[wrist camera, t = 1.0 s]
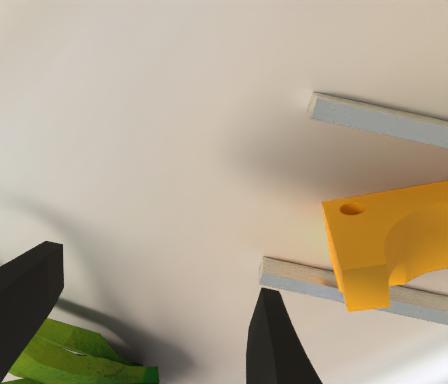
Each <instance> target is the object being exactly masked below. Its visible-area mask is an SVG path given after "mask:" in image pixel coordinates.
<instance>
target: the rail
mask: <svg viewBox="0 0 448 384" xmlns="http://www.w3.org/2000/svg"><path fill="white" fill-rule="evenodd" d="M308 113H309V115H310V118H311V119H315V120H319V121H324V122H328V123H333V124H338V125H342V126H347V127H351V128H356V129H361V130H365V131H370V132H374V133H379V134H384V135H388V136H393V137H397V138H402V139H407V140H411V141H416V142H421V143H425V144H430V145H434V146H439V147H444V148H448V121H445V120H441V119H436V118H432V117H427V116H422V115H418V114H413V113H409V112H404V111H399V110H395V109H390V108H385V107H381V106H376V105H372V104H367V103H362V102H358V101H353V100H349V99H344V98H339V97H335V96H330V95H326V94H321V93H316V92H313V94H312V97H311V100H310V104H309V107H308ZM259 284H260V285H264V286H269V287H274V288H278V289H283V290H288V291H292V292H297V293H302V294H306V295H311V296H315V297H320V298H325V299H329V300H334V301H339V302H343V303H345V300H344V296H343V292H339V288H338V284H337V281H336V277H335V273H334V272H332V271H327V270H322V269H318V268H313V267H309V266H304V265H299V264H295V263H290V262H285V261H281V260H276V259H272V258H267V257H263V258H262V261H261V264H260V268H259ZM389 293H390V306H391V307H388V308H379V309H376V310H380V311H385V312H390V313H394V314H399V315H404V316H408V317H413V318H417V319H422V320H427V321H431V322H436V323H441V324H445V325H448V296H443V295H438V294H434V293H429V292H424V291H420V290H415V289H411V288H406V287H401V286H397V285H395V286H389Z"/></svg>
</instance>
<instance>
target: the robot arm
mask: <svg viewBox="0 0 448 384" xmlns="http://www.w3.org/2000/svg"><path fill="white" fill-rule="evenodd" d="M63 288H64V273H63V244H58V243H54V242H49V241H45V242H43V243H41V244H39V245H38V246H36V247H34V248H32V249H31V250H29V251H27V252H25V253H24V254H22V255H20V256H18V257H17V258H15V259H13V260H11V261H10V262H8V263H6V264H4V265H2V266H1V267H0V384H1V382H2V381H3V379H4V377H5V376H6V374H7V373H8V371H9V370H10V369H11V367H12V366H13V364H14V363H15V362H16V360H17V359H18V357H19V356H20V355H21V353H22V352H23V350H24V349H25V348H26V346H27V345H28V344H29V342H30V341H31V339H32V338H33V337H34V335H35V334H36V332H37V331H38V330H39V328H40V327H41V325H42V324H43V323H44V321H45V320H46V318H47V317H48V315H49V314H50V312H51V311H52V309H53V307H54V305H55V303H56V302H57V300H58V298H59V296H60V294H61V292H62V290H63ZM246 384H323V383H322V382H321V380H320V378H319V377H318V375H317V373H316V371H315V370H314V368H313V366H312V364H311V362H310V360H309V359H308V357H307V355H306V353H305V351H304V349H303V347H302V345H301V343H300V340H299V338H298V336H297V334H296V332H295V330H294V327H293V325H292V323H291V320H290V318H289V315H288V313H287V310H286V308H285V305H284V302H283V300H282V297H281V294H280V292H279V291H276V290H271V289H267V288H261V291H260V294H259V298H258V301H257V304H256V307H255V310H254V313H253V316H252V319H251V322H250V326H249V331H248V341H247V352H246Z"/></svg>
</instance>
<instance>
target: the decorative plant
mask: <svg viewBox="0 0 448 384" xmlns="http://www.w3.org/2000/svg"><path fill="white" fill-rule="evenodd" d="M63 348H64V349H63ZM65 349H67V350H71V351H74V352H78V353H81V354H85V355H81V354H74V353H72V352H69V351H67V350H65ZM8 372H9V373H11V374H13V375H14V376H17V377H21V378H24V379H18V380H13V381H8V382H3V383H1V384H159V374H158V367H145V366H143V365H140V364H138V363H132V362H128V361H126V360H125V359H123V358H121V357H120V356H118V355H117V354H116V352H115V351H114V350H113V349H112V348H111V346H110V345H109V344H108V343H107V342H106V340H105V339H104V338H103V337H102V336H101V334H99V333H96V332H92V331H89V330H86V329H82V328H79V327H75V326H72V325H69V324H65V323H62V322H58V321H55V320H52V319H48V318H46V320H45V321H44V323H43V324H42V325H41V327H40V328H39V330H38V331H37V332H36V334H35V335H34V337H33V338H32V339H31V341H30V342H29V344H28V345H27V346H26V348H25V349H24V350H23V352H22V353H21V355H20V356H19V357H18V359H17V360H16V362H15V363H14V364H13V366H12V367H11V369H10V370H9V371H8Z"/></svg>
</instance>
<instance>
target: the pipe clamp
mask: <svg viewBox="0 0 448 384" xmlns="http://www.w3.org/2000/svg"><path fill="white" fill-rule="evenodd" d="M322 207H323V213H324V219H325V226H326V232H327V238H328V244H329V251H330V257H331V262H332V265H333V269H334V273H335V277H336V281H337V284H338V288H339V292H343V296H344V300H345V303H346V307H347V310H348V312H353V311H362V310H370V309H379V308H388V307H391V306H390V293H389V286H395V285H403V284H406V283H407V282H409V281H410V280H412V279H413V278H415V277H417V276H419V275H422V274H425V273H428V272H431V271H435V270H440V269H447V268H448V181H442V182H436V183H430V184H424V185H419V186H413V187H407V188H401V189H395V190H390V191H384V192H378V193H372V194H367V195H361V196H355V197H349V198H343V199H338V200H332V201H326V202H322Z"/></svg>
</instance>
